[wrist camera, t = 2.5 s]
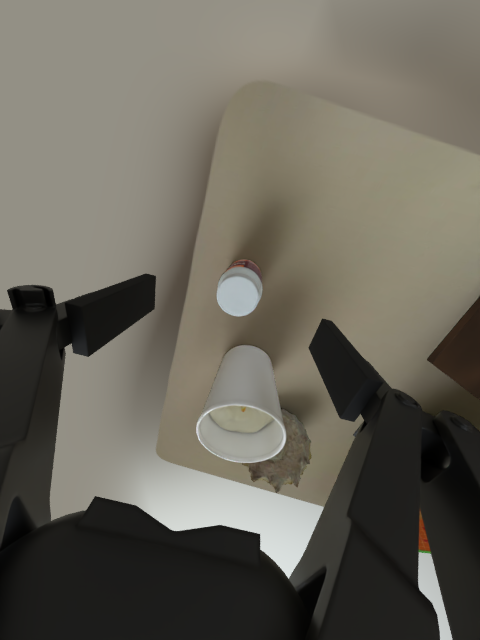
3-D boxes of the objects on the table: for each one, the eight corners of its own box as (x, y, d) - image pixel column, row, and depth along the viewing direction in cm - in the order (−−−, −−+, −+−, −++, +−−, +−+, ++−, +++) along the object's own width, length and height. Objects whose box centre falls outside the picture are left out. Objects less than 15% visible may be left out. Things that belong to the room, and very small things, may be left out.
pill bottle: (244, 250, 24) (237, 259, 16) (269, 278, 25) (274, 298, 17) (218, 277, 25) (202, 296, 18) (243, 301, 27) (237, 329, 19)
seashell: (313, 410, 36) (335, 466, 26) (275, 457, 41) (282, 518, 31) (261, 387, 35) (265, 436, 25) (228, 437, 40) (221, 495, 30)
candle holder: (283, 346, 29) (298, 415, 18) (268, 392, 33) (273, 470, 22) (221, 334, 29) (199, 395, 18) (214, 381, 33) (193, 454, 23)
